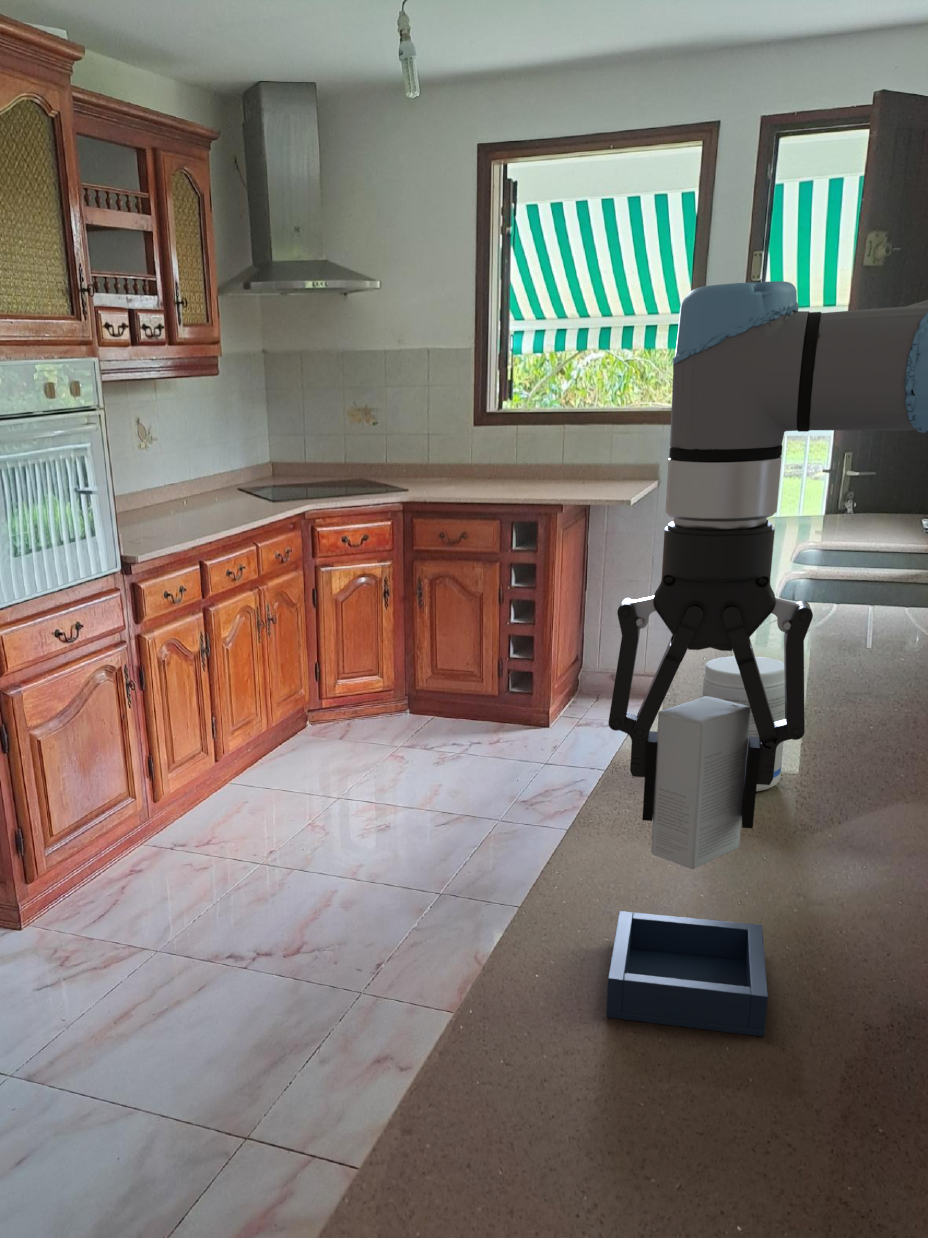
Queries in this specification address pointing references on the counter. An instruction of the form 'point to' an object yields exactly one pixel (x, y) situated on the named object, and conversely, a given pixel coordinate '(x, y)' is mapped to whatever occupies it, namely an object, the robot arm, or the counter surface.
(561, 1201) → the counter surface
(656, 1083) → the counter surface
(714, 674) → the supplement tub
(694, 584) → the robot arm
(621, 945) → the holder
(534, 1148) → the counter surface
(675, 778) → the cosmetic box
